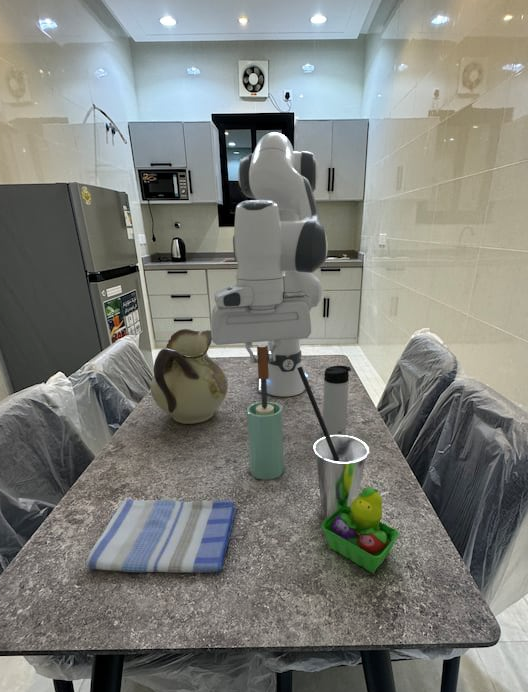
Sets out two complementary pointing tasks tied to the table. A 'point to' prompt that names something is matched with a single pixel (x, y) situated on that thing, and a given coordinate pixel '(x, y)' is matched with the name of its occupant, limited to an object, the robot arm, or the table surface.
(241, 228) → the robot arm
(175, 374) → the pitcher
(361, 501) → the fruit basket
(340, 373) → the travel mug
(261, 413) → the bottle brush
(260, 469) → the vase
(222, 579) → the table surface
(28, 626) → the table surface
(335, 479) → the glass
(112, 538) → the dish towel
